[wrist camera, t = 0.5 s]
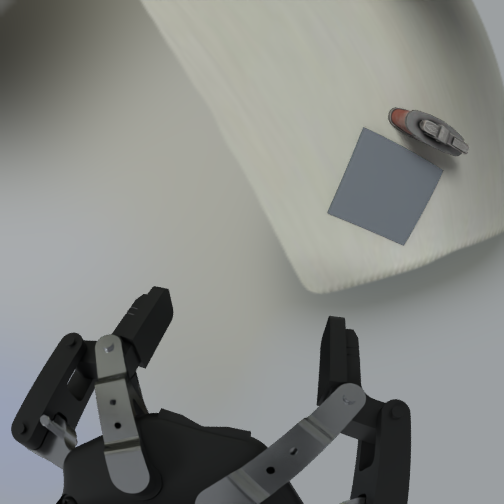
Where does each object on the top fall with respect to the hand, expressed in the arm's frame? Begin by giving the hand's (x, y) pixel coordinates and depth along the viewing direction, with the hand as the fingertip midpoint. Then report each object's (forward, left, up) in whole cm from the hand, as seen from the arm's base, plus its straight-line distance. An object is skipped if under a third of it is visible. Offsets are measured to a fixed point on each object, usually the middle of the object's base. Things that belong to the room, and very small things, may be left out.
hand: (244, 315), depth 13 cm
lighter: (-13, +14, -27) cm, 33 cm away
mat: (-3, +14, -27) cm, 30 cm away
